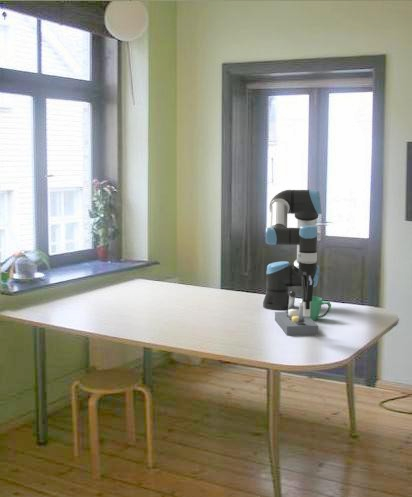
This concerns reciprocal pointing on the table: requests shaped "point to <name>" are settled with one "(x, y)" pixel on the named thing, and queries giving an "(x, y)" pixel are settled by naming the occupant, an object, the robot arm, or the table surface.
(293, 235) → the robot arm
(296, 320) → the button mustard
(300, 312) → the lever
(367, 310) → the table surface
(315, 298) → the mug
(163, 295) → the table surface
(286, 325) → the panel
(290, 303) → the lever
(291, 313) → the button ivory
